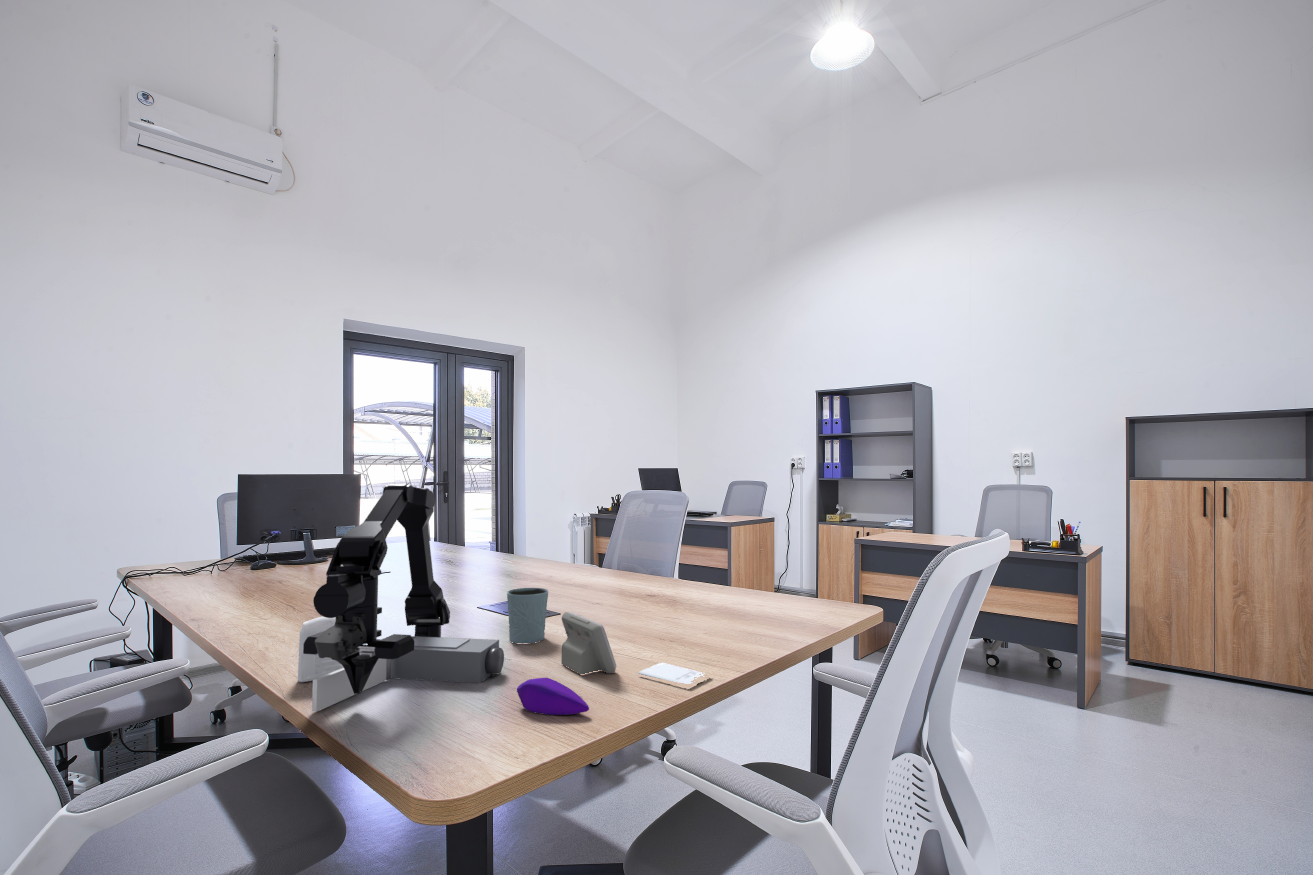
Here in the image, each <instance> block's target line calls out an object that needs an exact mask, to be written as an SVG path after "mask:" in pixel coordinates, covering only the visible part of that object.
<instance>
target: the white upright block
mask: <svg viewBox="0 0 1313 875" xmlns="http://www.w3.org/2000/svg"><path fill="white" fill-rule="evenodd" d="M335 622H336V617H334V618H326V617H323V616H317V617H315V618H313V619H308V620H306V621H304V622H302V624H301V625H302V626H301V627H300V628H301V629H300V631H299V639H298V640H299V643H298V644H299V645H298V646H299V647H298V662H297V664H298V667H297V681H298V683H306V682H311V681H312V682H313V679H316V678H319V677H321V676H324V675H326V674H329V673H331V672H334V671H336V670H339V669H342V668H344V667H343V665H342V664H340V663H339V662H337V661H336V660H332V659H331V658H326V657H325V658H319V655H318V654H316V655H314V654H303V643H304V642H305V640H306V639H307V637H309V636H311V635H314V634H317V633H320V632H323V631H326V630H327V629H328V628H330V627H332V626H334V625H335Z"/></svg>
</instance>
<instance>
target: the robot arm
mask: <svg viewBox="0 0 1313 875" xmlns="http://www.w3.org/2000/svg"><path fill="white" fill-rule="evenodd" d="M435 496H436V495H435V494H434V492H433V491H432V490H430V489H429V488H427V487H420V488H419V487H415V486H413V485H412V484H410V485H409V484H408V483H389V484H386V485H384V487H383V491H382V494H381V496H380V498H379V499H378V500H377V502H376V503H375V505H374V506H373V508H372V510H370V512H369V513H368V515H367V517H365V519H364V520H363V522H362V523H361V524H359V525H356V526H354V527H352V528H350V529H349V530H347V532H346V533H345V534H344V535H343V536H342V537H341V538H340V539H339V542H338V543H337V544H336V547H335V549H334V552H333V554H332V558H330V559H331V560H330V563H329V565H328V567H327V570H326V574H325V575H326V582H325V583H324V584H322V585H321V586H320V587H318V589H317V590H316V592H315V594H314V597H313V607H314V609H315V611H316V613H317V614H318V615H320V617H322V616H323V617H326V618H334V617H336V622H335V625H334V626H332V627H330V628H328V629H327V630H326V631H323V632H320V633H317V634H314V635H311V636H309V637H307V639H306V640H305V642H304V643H303V654H314V655H316V654H318V655H319V658H325V657H326V658H331V659H332V660H336V661H337V662H339V663H340V664H342V665H343V667H344V669H345V671H346V674H347V676H348V679H349V681H350V684H351V687H352V689H353V692H354V694H355V695H360V694H361V693H362V692H363V689H364V686H365V684H366V682H367V680H368V678H369V676H370V674H371V672H372V670H373V668H374V666H375V664H376V662H377V661H378V659H397V658H399V657H401V656H403V655H405V654H407V653H409V652H411V651H413V650H414V639H413V637H412V635H411V634H399V633H393V634H391V635H389V636H386V637H384V638H381V639H378V638H379V637H382V629H378V615H380V614H383V606H382V607H381V606H380V607H379V605H378V604H379V603H378V602H379V601H378V599H379V596H378V594H379V593H378V592H379V591H378V590H379V576H380V575H382V570H381V566H382V565H383V562H384V560H385V558H386V555H387V554H388V553H387V552H388V549H389V548H388V544H387V540H386V539H387V537H388V535H389V533H390V532H391V531H392V528H394V527H393V526H394V525H395V523H396V522H398V523H399V524H400V526H402V528H403V529H404V531H405V539H406V548H407V556H408V566H409V573H410V582H411V589H410V590H409V592H408V594H407V596H406V597H405V599H404V613H405V620H406V626H408V627H409V626H410V627H411V626H414V636H420V637H442V626H444V625H447V624H450V618H451V610H450V609H449V605H448V603H447V601H446V599H445V598H444V594H443V588H442V587H441V586H440V585H439V584H438V583H437V582H436V581H435V580H434V572H433V571H434V570H433V560H432V552H431V544H430V533H429V525H428V522H429V521H430V519H431V517H432V515H433V513H434V511H435V505H436V498H435Z"/></svg>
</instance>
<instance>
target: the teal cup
mask: <svg viewBox="0 0 1313 875" xmlns="http://www.w3.org/2000/svg"><path fill="white" fill-rule="evenodd" d="M506 596H507V611H508V628H509V629H508V630H509V631H508V632H509V634H508V637H509V642H510V641H511V642H513V643H512V644H514V643H534V644H536V643H535V642H538V643H540V642H539V641H541V640H543V639H545V633H546V632H545V630H546V620H547V619H546V617H547V611H548V610H547V606H548V600H549V590H548V589H546V588H541V587H522V588H521V587H520V588H515V589H509V590H508V591H507V592H506ZM543 641H544V640H543ZM511 642H510V643H511ZM541 642H542V641H541Z"/></svg>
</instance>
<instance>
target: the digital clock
mask: <svg viewBox="0 0 1313 875" xmlns="http://www.w3.org/2000/svg"><path fill="white" fill-rule="evenodd" d="M561 621H562V625H563V628H564V630H565V634H566V639H565V641H564V642H563V643H562V644H561V665H562V664H563V665H565V666H567V667H569V668H570V669H572V670H574V671H576V672H578V673H579V674H585V673H589V672H593V671H598V670H602V671H601V672H603V671H604V672H603V673H605V672H606V673H605V674H613V672H614V673H616V670H617V663H616V659H615V657H614V654H613V651H612V648H611V644H610V642H609V639H608V636H607V633H606V630H605V627H604V625H603V624H602V623H599V622H597V621H595V620H593V619H589V618H587V617H584V616H582V615H579V614H576V613H574V612H569V611H567V612H566V611H565V612H564V613H562V616H561ZM563 665H562V666H563ZM565 666H564V667H565ZM567 667H566V668H567ZM569 668H568V669H569ZM570 669H569V670H570ZM572 670H571V671H572ZM574 671H573V672H574ZM576 672H575V673H576ZM578 673H577V674H578ZM579 674H578V675H579Z"/></svg>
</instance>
